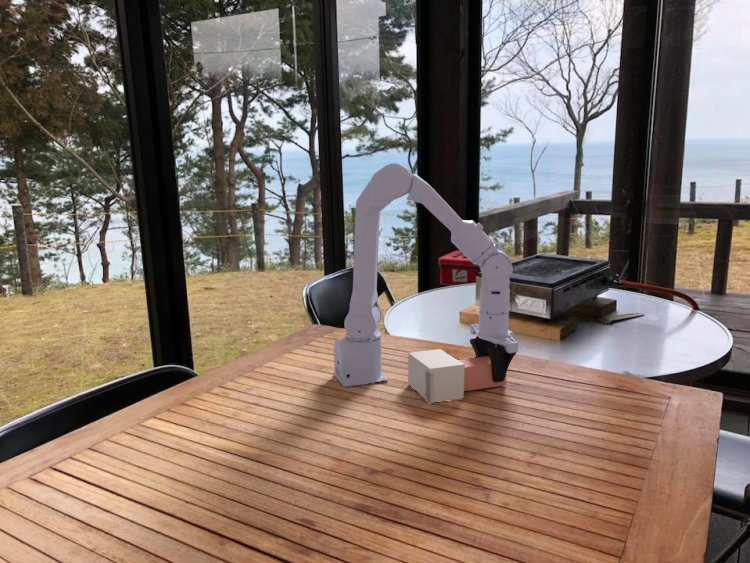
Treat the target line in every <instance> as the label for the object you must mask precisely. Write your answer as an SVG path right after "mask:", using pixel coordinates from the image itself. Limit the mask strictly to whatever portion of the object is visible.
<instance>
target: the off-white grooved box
mask: <svg viewBox="0 0 750 563" xmlns="http://www.w3.org/2000/svg"><path fill="white" fill-rule="evenodd" d="M446 352H447V351H445V350H443V349H441V348H438V349H429V350H421V351H420V350H419V351H412V352H411V351H410V352H408V353H407V354H408V360H407V362H408V364H407V366H408V367H407V369H408V372H407V375H408V376H407V380H408V381H407V385H408V384H409V385H411V386H412V387H413V388H414V389H415V390H416V391H417V392H418V393H419V394H420V395H421V396H422V397H423V398H424V399H425V400H427V401H428V402H429V403H433V402H439V401H446V400H452V399H460V398H464V397H465V391H464V365H465V364H463V363H462V362H460V361H458V360H457V359H455V358H454V357H452V356H451V355H449V354H447V353H446ZM419 394H418V395H419ZM420 395H419V396H420ZM421 396H420V397H421ZM422 397H421V398H422ZM423 398H422V399H423ZM424 399H423V400H424ZM425 400H424V401H425ZM428 402H427V403H428ZM429 403H428V404H429Z"/></svg>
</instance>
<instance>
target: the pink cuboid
mask: <svg viewBox="0 0 750 563" xmlns="http://www.w3.org/2000/svg"><path fill="white" fill-rule="evenodd" d="M458 361H460V362H462V363H463V364H465V365H464V392H468V391H474V390H475V391H476V390H482V389H489V388H496V387H502V386H506V385H507V374H506V375H505V379H504V381H503V382H497V383H495V382H493V379H492V367H491V361H490V357H489V356H485V357H477V358H469V359H461V360H458Z"/></svg>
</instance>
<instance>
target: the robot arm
mask: <svg viewBox="0 0 750 563" xmlns="http://www.w3.org/2000/svg"><path fill="white" fill-rule="evenodd" d="M404 196H407V197H406V200H408V201H411V202H413V203H414V202H415V203H419V204H422V205H423V206H424V207H425V208H426V209H427V210H428V211H429V212H430V213H431V214H432V215H433V216H435V218H436V219H438V220H439V222H440V223H442V225H444V227H446V228H447V229H448V230H449V231H450V233H451V236H450V242H451V243H452V244H453V245H454V246H455V247H456V248H457V249H458V250H459V251H460V252H461V253H462V254H463V255H464V256H465V257H466V258H467V259H468V260H469V261H470V262H471V263H472V264H473V265H476V266H478V267H479V270H480V273H481V286H480V287H479V303H478V304H479V305H478V307H479V308H478V323H474V324H473V323H471V324H470V334H471V335H476V336H475V338H470V339H469V344H471V345H472V347H473V349H474V352H475V355H476V358H477V357H485V356H489V357H490V361H491V367H492V379H493V382H495V383H497V382H503V381H504V379H505V375H506V376H507V373H508V369H509V366H510V364H511V362H512V360H513V359H514V357H515V355H516V354H517V353H519V342H518V341H516V340H515V338H514V337H512V336H513V331H512V330H509V321H510V320H509V317H510V300H511V299H510V298H511V296H510V295H511V293H510V292H511V288H510V283H511V282H510V280H511V279H510V277H511V276H512V274H513V272H514V267H513V263H512V260H511V259H510V257H509V256H508V254H507V253H506V252H505V250H504V249H502V248H501V244H500V243H499V242H498V241H496V242H495V241H493V239H491V237H490V236H489V235H488V234H486V232H485V231H484V226H483V225H482V224H481V223H480V222H477V223H476V222H475V221H474V220H472V219H471V220H470V219H469V220H467V219H465V220H464V219H462V218H461V217H460V216H459V215H458V214H457V212H456V211H455V210H454V209H453V208H452V206H450V205H449V204H448V203H447V201H446V200H444V199H443V197H441V195H440V194H439V193H438V192H437V191H436V190H435V189H434V188H433V187H432V186H431V185H430V184H429V183H428V182H427V181H425V180H424V179H423V178H421V176H419V175H417V173H413V172H412V170H411V169H410V168H409V167H408V166H405V165H403V164H401V163H395V162H393V163H389V164H386V165H385V166H383V167H382V168H380V169H379V170H377V171H376V172H375V173H373V175H372V177H371V178H370V180H369V181H368V183H367V185H366V186H365V187H364V188H363V190H362V192H361V193H360V195H359V196H358V197H357V199H356V202H355V214H354V216H355V217H354V218H355V220H354V247H353V248H354V249H353V272H352V276H353V278H352V292H351V297H350V302H349V311H348V313H347V315H346V317H345V318H344V323H343V324H344V325H343V326H344V330H345V332H346V333H345V336H344V337H342V338H338V339H335V340H334V345H333V363H334V369H333V370H334V371H333V375H334V377H335V378H336V379H337V380H338V382H339V383H340V384H341V386H343V387H344V388H346V387H354V386H355V387H356V386H362V385H369V384H368V383H371V384H376V383H375V382H379V383H382V382H381V381H386V382H388V381H389V378H388V377H387V376H386V375H385V374H384V373H382V333H381V332H380V330H379V328H378V325H379V324H380V322H381V320H382V311H381V308H380V306H379V301H378V300H379V299H378V298H379V297H378V296H379V294H378V290H377V288H378V265H379V264H378V263H379V243H380V222H381V221H380V219H381V218H380V217H381V212H382V211H383V210H384V209H385V208H387V207H388V206H389V205H390V204H391V203H392V202H393V201H395V200H397V199H399V198H400V199H401V198H402V197H404ZM387 380H388V381H387Z"/></svg>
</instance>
